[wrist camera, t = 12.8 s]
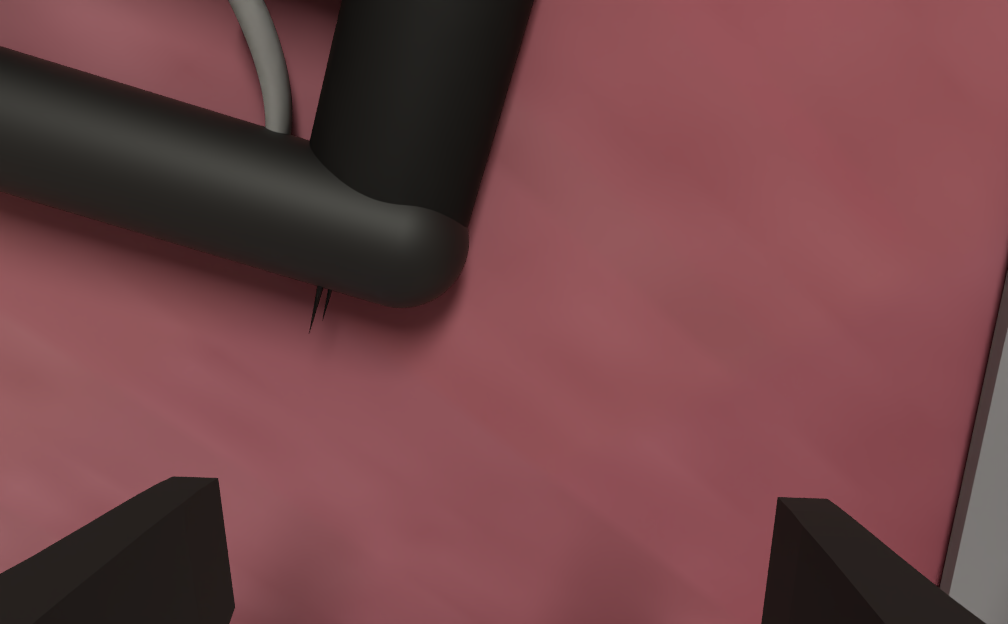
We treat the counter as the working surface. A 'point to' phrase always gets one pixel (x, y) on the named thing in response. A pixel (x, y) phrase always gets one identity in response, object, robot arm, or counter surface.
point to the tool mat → (984, 497)
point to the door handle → (289, 149)
